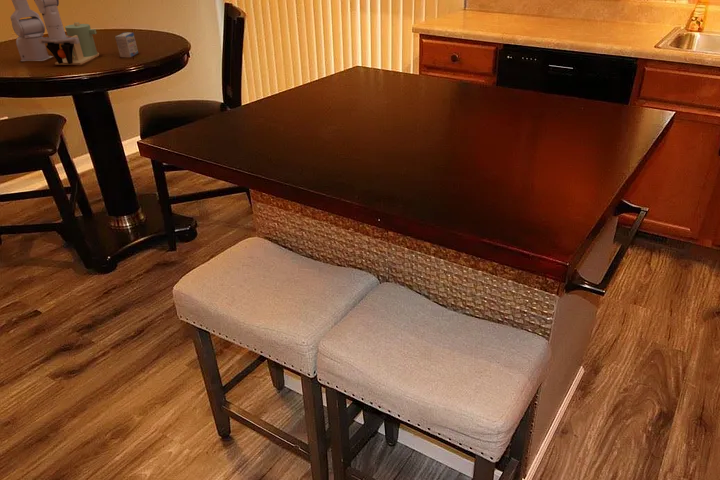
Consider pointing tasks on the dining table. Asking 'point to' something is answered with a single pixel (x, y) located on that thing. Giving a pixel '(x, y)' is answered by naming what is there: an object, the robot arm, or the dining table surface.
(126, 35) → the medicine box
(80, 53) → the switch bracket
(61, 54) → the switch
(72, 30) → the kettle
